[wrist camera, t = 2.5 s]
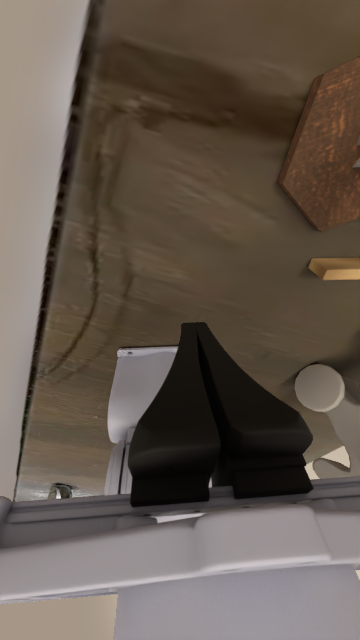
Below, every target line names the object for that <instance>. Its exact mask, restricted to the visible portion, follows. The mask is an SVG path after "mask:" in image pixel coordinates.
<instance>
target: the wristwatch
mask: <svg viewBox="0 0 360 640" xmlns="http://www.w3.org/2000/svg"><path fill="white" fill-rule="evenodd" d="M56 488H58V489H59V490H60V495H61V499H62V498H71V497H72V492H71V489H70V487H68V486H66V485H61V486H60V485H56V486H52V487H51V488H50V494H49V495H48V500H49V499H56V495H57V492H56Z"/></svg>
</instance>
